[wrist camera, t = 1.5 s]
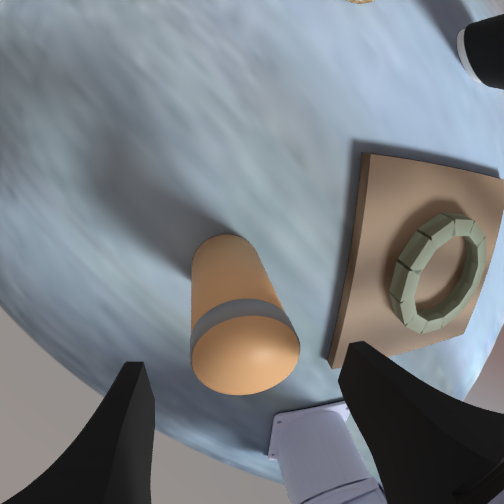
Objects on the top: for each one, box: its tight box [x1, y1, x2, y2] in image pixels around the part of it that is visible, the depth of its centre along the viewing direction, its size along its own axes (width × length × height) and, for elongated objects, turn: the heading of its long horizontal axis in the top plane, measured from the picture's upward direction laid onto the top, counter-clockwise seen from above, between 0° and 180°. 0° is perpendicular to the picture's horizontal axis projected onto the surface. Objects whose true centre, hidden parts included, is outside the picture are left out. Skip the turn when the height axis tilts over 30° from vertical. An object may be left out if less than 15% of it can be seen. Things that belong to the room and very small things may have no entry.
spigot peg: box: [190, 234, 300, 395], centre depth 14 cm, size 4×4×8 cm
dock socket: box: [328, 152, 504, 369], centre depth 20 cm, size 16×16×2 cm
